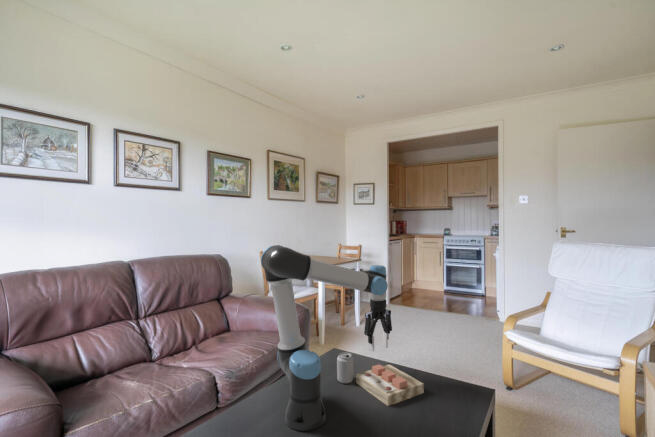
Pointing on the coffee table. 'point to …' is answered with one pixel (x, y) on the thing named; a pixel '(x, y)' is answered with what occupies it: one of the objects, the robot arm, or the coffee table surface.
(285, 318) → the robot arm
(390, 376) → the button
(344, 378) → the can
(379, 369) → the button
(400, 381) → the button
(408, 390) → the board
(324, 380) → the coffee table surface
